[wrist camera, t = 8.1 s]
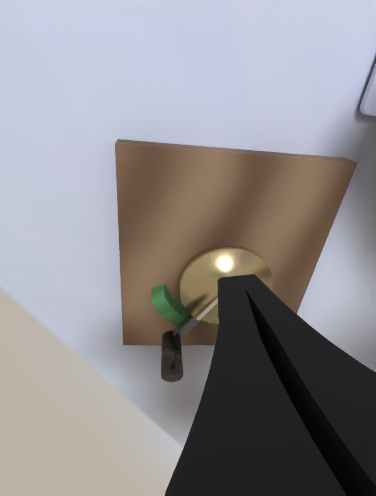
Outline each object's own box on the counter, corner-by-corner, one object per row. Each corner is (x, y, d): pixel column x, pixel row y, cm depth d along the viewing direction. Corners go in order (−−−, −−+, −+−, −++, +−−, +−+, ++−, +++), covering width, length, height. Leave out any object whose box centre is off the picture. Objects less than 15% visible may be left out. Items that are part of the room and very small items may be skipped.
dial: (221, 227, 16) (232, 256, 13) (288, 275, 18) (309, 308, 16) (131, 326, 20) (126, 365, 17) (196, 356, 22) (201, 394, 19)
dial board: (345, 158, 17) (374, 170, 15) (279, 334, 26) (290, 360, 23) (118, 139, 16) (110, 150, 13) (125, 333, 24) (120, 361, 22)
